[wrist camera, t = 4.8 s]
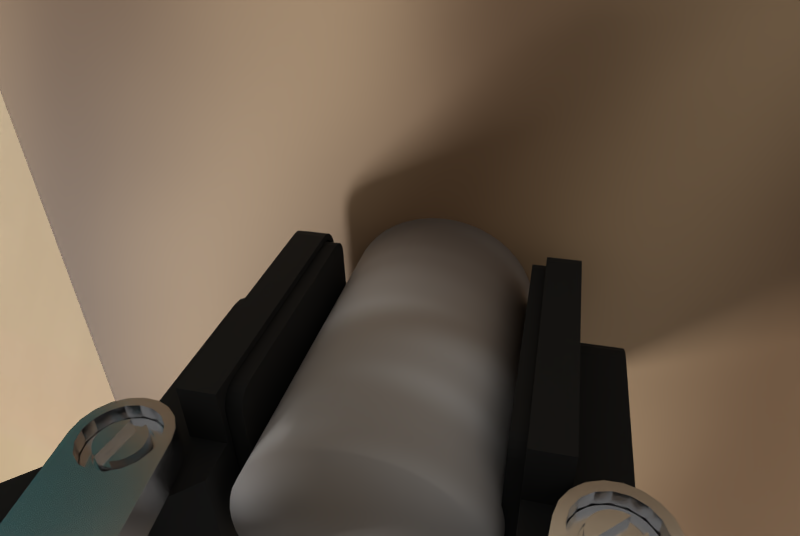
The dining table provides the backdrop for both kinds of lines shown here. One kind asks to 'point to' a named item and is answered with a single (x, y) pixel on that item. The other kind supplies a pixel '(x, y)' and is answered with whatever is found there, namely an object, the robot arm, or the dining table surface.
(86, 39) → the cover
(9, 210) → the dining table surface
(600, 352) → the robot arm
